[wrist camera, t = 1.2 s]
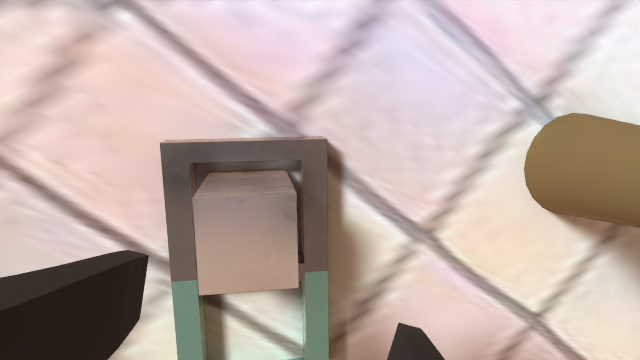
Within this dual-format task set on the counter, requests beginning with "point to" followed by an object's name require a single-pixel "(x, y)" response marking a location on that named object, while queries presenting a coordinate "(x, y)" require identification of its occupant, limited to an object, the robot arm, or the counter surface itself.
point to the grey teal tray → (182, 233)
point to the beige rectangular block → (246, 232)
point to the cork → (587, 168)
